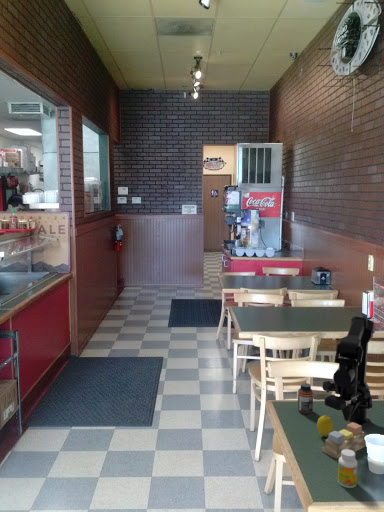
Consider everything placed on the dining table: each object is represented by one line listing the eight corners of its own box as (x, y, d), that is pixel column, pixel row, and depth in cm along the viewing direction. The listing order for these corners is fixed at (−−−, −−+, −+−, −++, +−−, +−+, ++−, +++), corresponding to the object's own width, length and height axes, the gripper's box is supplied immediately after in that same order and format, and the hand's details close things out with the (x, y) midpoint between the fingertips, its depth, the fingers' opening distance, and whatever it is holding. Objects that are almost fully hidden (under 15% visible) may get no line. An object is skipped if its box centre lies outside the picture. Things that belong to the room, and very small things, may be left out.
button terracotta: (352, 432, 167) (352, 422, 166) (361, 436, 164) (361, 425, 163) (346, 435, 164) (346, 424, 164) (355, 439, 162) (355, 428, 161)
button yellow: (343, 440, 164) (343, 429, 163) (352, 444, 161) (352, 433, 160) (337, 443, 161) (337, 432, 161) (346, 447, 159) (346, 436, 158)
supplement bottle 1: (300, 406, 195) (300, 380, 194) (314, 410, 192) (315, 383, 191) (295, 412, 190) (296, 385, 189) (310, 415, 187) (310, 388, 186)
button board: (349, 437, 169) (349, 425, 168) (366, 445, 163) (367, 433, 163) (322, 451, 159) (322, 438, 159) (339, 460, 154) (340, 447, 153)
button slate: (334, 441, 160) (334, 430, 160) (343, 445, 157) (344, 434, 157) (328, 444, 158) (328, 433, 158) (337, 449, 155) (337, 437, 155)
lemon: (329, 432, 172) (330, 412, 172) (334, 440, 167) (335, 418, 166) (314, 433, 172) (315, 412, 172) (319, 440, 167) (319, 418, 166)
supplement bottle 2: (334, 483, 141) (335, 452, 140) (343, 475, 145) (344, 446, 144) (351, 490, 137) (352, 459, 136) (359, 483, 141) (361, 452, 140)
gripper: (344, 364, 172) (342, 405, 174) (312, 376, 161) (310, 419, 163) (371, 373, 164) (370, 416, 165) (339, 386, 152) (338, 432, 154)
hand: (346, 420), depth 162 cm, fingers closed
